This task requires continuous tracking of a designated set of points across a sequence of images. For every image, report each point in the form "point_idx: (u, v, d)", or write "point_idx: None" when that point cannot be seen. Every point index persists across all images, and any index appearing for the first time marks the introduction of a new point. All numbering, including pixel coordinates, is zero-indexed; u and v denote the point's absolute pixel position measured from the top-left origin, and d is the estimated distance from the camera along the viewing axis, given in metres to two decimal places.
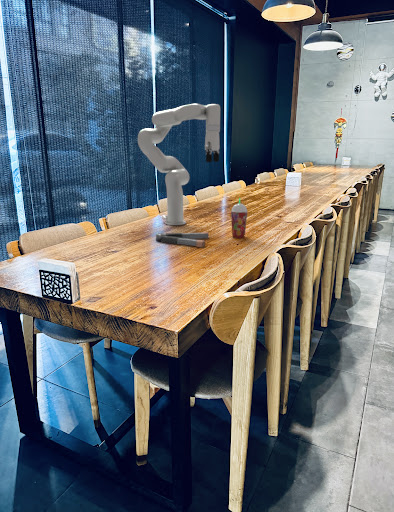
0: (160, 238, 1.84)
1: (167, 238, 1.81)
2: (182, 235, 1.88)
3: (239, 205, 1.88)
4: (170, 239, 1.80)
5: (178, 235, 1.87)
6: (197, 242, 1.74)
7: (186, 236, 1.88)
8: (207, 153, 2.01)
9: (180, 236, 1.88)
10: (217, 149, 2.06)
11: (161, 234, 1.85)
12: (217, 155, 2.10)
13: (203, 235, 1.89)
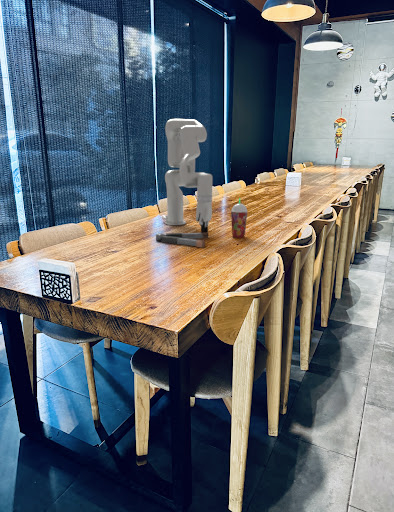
0: (160, 238, 1.84)
1: (167, 238, 1.81)
2: (182, 235, 1.88)
3: (239, 205, 1.88)
4: (170, 239, 1.80)
5: (178, 235, 1.87)
6: (197, 242, 1.74)
7: (186, 236, 1.88)
8: None
9: (180, 236, 1.88)
10: (209, 219, 1.93)
11: (161, 234, 1.85)
12: None
13: (203, 235, 1.89)
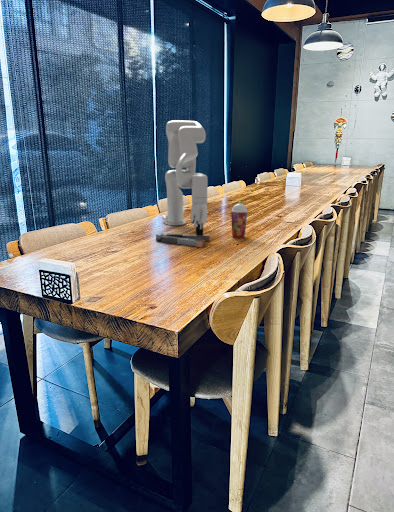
0: (159, 238, 1.84)
1: (167, 238, 1.81)
2: (182, 236, 1.85)
3: (239, 205, 1.88)
4: (170, 239, 1.80)
5: (178, 236, 1.85)
6: (197, 242, 1.74)
7: (186, 237, 1.85)
8: None
9: (180, 237, 1.85)
10: (204, 221, 1.88)
11: (161, 234, 1.85)
12: None
13: (204, 237, 1.85)
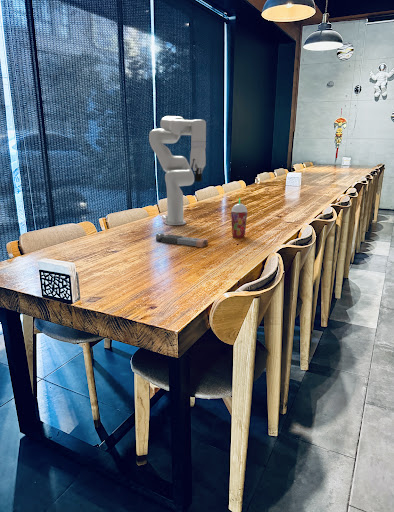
0: (158, 238, 1.84)
1: (167, 238, 1.81)
2: None
3: (239, 205, 1.88)
4: (170, 239, 1.80)
5: None
6: (197, 242, 1.74)
7: None
8: (196, 173, 1.96)
9: None
10: (203, 166, 1.97)
11: (161, 234, 1.85)
12: None
13: None
